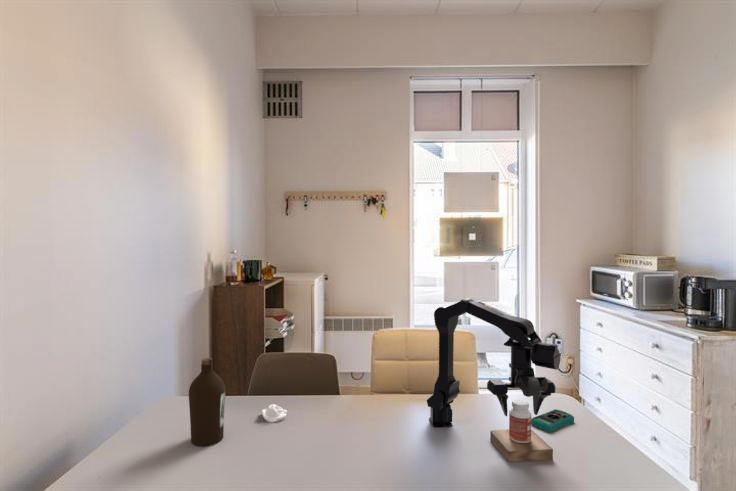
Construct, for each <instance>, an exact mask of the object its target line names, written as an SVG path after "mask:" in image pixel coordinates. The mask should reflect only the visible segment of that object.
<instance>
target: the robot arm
mask: <svg viewBox="0 0 736 491" xmlns="http://www.w3.org/2000/svg"><path fill="white" fill-rule="evenodd" d="M466 313H467V314H469V315H471V316H473V317H475V318H477V319H479V320H482V321H483V322H486V323H488V324H490V325H493V326H495V327H497V328H498V329H500V331H501V332H502V333H504V335H506V336H507V337H509V338H508V339H507V341H505V342H504V343H503V346H505V347H510V362H509V363H508V367H509V368H510V376H508V381H509V382H504V381H503V380H501V379H489V380H488V381H487V383H486V389H487V390H488V391H489V392H490V393H491V394H492V395H493V396H496V398H497V400H498V403H499V405H500V407H501V409H502V412H503V415H504V416H505V417H508V399H509V395H508V394H507V393H509V391H513V390H514V391H516V390H517V391H518V390H520V391H521V392H522V394H523V396H524V397H527V398H530V397H532V404H533V405H532V407H533V409H532V410H533V414H534V415H535V416H538V413H539V411H540V408H541V406H542V405H543V401H544V400H545V398H547V397H550V396H552V394H555V393H556V389H557V387H556V385H555V384H556V383H554V382H553V381H552V380H549V379H548V378H547V377H546V376H536V375H535V371H534V370H535V369H534V368H533V367H532V364H534V365H535V367H540V368H541V367H542V368H545V369H551V370H558V369H559V367H560V363H561V354H560V350H559V348H558V344H556V343H545V342H543V341H542V339H541V337H540V336H539V334H538V333H537V332H536V330H535V326H534V325H533V322H532V321H531V320H529V319H527V318H523V317H519V316H516V315H515V316H514V315H509V314H505V313H503V312H500V311H498V310H496V309H493V308H491V307H489V306H487V305H485V304H482V303H480V302H478V301H475V300H474V299H473V298H470V297H469V298H464V299H460V300H459V301H457V302H456V303H453V304H449V305H444V306H440V307H438V308H436V309H435V310H434V312H433V318H434V320H433V321H434V326H435V328H436V330H437V332H438V375H437V378H436V380H435V383H434V388H433V394H432V395H431V396H429V398H427V399H426V403H427V407H428V408H430V414H429V415H430V416H429V417H428V420H429V421H430V423H431V425H432V427H433V428H443V427H453V423H452V422H453V408H452V406H451V404H453V403H454V400H455V399H457V398H458V395H459V394H460V393H461V390H460V380H457V379H456V378H455V376H454V347H455V346H454V343H455V342H454V340H455V339H454V338H455V337H454V333H455V330H457V329H456V328H457V326H458V322H459V317H460V316H462V315H464V314H466Z"/></svg>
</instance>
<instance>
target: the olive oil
mask: <svg viewBox="0 0 736 491" xmlns="http://www.w3.org/2000/svg"><path fill="white" fill-rule="evenodd" d="M200 366H201V367H200V368H201V369H200V370H201V371H200V373H199V374H198V375H197V376H196V377H195V378H194V379H193V380H192V381H191V383H190V384H189V385H190V386H189V388H188V406H189V420H190V442H191V444H192V445H193V446H195V447H209V446H212V445H216V444H218V443H220V442H222V440H223V439H224V431H225V430H224V429H225V405H226V385H225V383H224V379H222V378H221V377H220V375H219V374H217V373H216V372H215V371H214V370H213V369H214V364H213V358H212V357H205V358H202V359H201V364H200Z"/></svg>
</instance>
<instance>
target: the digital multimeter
mask: <svg viewBox="0 0 736 491" xmlns="http://www.w3.org/2000/svg"><path fill="white" fill-rule="evenodd" d="M574 422H575V416H573V415H572V414H570V413H568V412H566V411H563V410H560V409H553V410H549V411H548V412H545V413H542V414H539V415H535V416H534V417H531V426H533V427H535V428H537V427H538V428H537V429H540V430H542V429H543V430H542V431H545V432H547V431H548V432H547V433H552V432H554V431H556V430H558V429H560V427H561V428H563V427H565V426H569V425H571V424H574ZM570 423H571V424H570ZM562 426H563V427H562Z"/></svg>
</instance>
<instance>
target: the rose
mask: <svg viewBox="0 0 736 491" xmlns="http://www.w3.org/2000/svg"><path fill="white" fill-rule="evenodd" d="M287 413H288V410H286V409H285V408H284V409H283V408H282V407H281V406H279V405H276V404H275V403H274V404H270V405H269V406H267V407H266V408H264V409H261V414H262V417H263V419H264V420H265V421H266V422H267V423H270V424H271V423H277V422H281V421H282V420H285V419H286V417H287Z"/></svg>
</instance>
